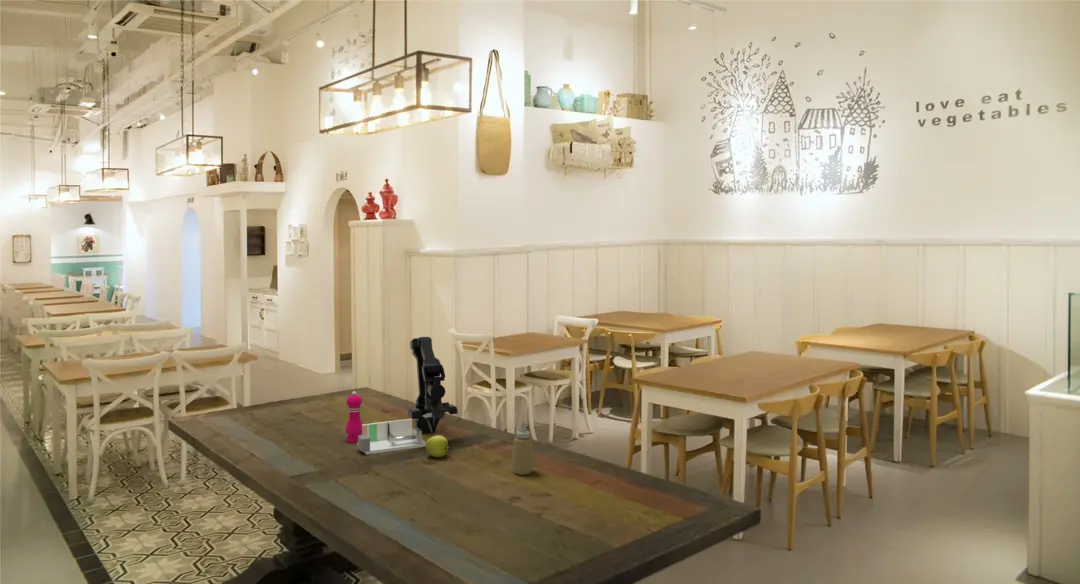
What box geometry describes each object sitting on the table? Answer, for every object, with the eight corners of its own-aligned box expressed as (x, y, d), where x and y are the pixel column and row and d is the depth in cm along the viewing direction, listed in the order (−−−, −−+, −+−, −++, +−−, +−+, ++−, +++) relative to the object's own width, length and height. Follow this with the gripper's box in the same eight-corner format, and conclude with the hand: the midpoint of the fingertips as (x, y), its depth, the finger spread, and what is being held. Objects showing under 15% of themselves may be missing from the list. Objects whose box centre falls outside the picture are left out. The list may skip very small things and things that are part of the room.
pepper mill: (366, 438, 312) (365, 389, 310) (360, 443, 305) (359, 393, 303) (349, 437, 312) (348, 389, 311) (343, 442, 305) (342, 393, 304)
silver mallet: (412, 435, 310) (412, 421, 309) (422, 442, 300) (421, 427, 299) (383, 439, 304) (383, 424, 304) (391, 446, 294) (391, 431, 294)
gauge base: (416, 437, 312) (416, 418, 312) (427, 446, 300) (427, 425, 300) (353, 446, 301) (353, 425, 300) (362, 455, 289) (361, 433, 288)
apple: (446, 460, 282) (446, 439, 281) (422, 459, 284) (422, 438, 283) (453, 454, 289) (452, 433, 289) (429, 453, 291) (429, 432, 291)
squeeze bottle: (537, 470, 271) (537, 419, 269) (530, 477, 263) (530, 425, 262) (516, 468, 273) (516, 418, 272) (508, 475, 266) (507, 423, 264)
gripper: (416, 400, 292) (416, 441, 293) (462, 395, 300) (462, 435, 301) (407, 394, 301) (407, 434, 303) (452, 390, 310) (452, 428, 311)
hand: (433, 433), depth 304 cm, fingers closed
